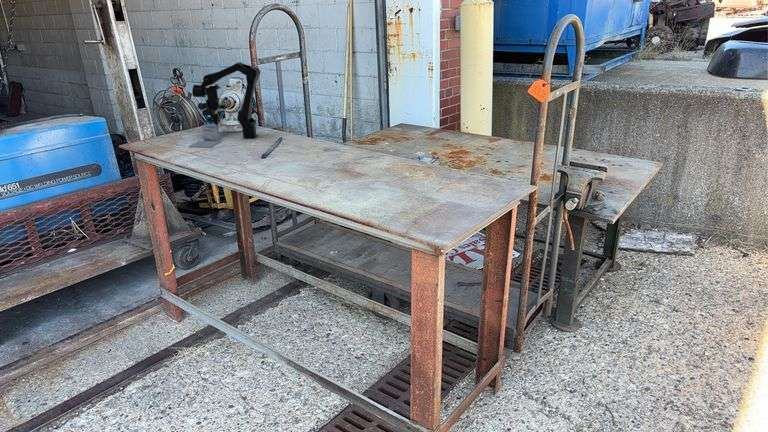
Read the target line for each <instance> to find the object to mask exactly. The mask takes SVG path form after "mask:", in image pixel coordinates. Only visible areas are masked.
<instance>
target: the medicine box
mask: <svg viewBox="0 0 768 432" xmlns="http://www.w3.org/2000/svg"><path fill="white" fill-rule="evenodd" d="M201 128H202V129H201V130H202V135H203V136H202V137H203V141H221V135H220V128H219V124H218V125H215V124H204V125H203V124H202V126H201Z"/></svg>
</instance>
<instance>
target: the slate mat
mask: <svg viewBox="0 0 768 432" xmlns="http://www.w3.org/2000/svg"><path fill="white" fill-rule="evenodd" d="M220 143H221V140H219V141H204V140H197V141H196V142H194V143H192V144H191V145H189V146H188V148H205V149H206V148H208V149H212V148H213V147H215V146H216V145H218V144H220Z"/></svg>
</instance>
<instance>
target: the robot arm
mask: <svg viewBox="0 0 768 432" xmlns="http://www.w3.org/2000/svg"><path fill="white" fill-rule="evenodd" d="M236 72H240V73H241V74H242V75H244V76H245V79H246V88H245V94H244V98H243V104H242V107H241V108H240V109H239V110H238V112H237V116H236V118H237V121H238V123H239V124H240V126H241V127H242V136H243V137H242V138H243V139H255V138H256V137H258V136H259V135H258V134H257V128H256V124H257V120H255V119H254V118H253V117H252V116H253V115H252V114H253V113H252V112H253V111H252V105H253V98H254V94H255V88H256V84H257V82H258V81H259V78H260V75H261V70H260V69H259V67H257V66H252V65H249V64H245V63H243V62H241V61H238V62H235V63H234V64H233V65H230V66H227V67H226V68H224V69H221V70H220V71H215V72H212V73H208V74H206V75H204V76H203V78H202V83H201V84H193V85H192V91H191V92H192V96H193V97H194V98H207V99H205V102H204V103H203V102H199V103H197V109H198V110H200V111H202V112H201V114H202V116H210V117H211V119H212V120H213V122H214V125H218V126H219V123H220V120H221V116H222V113H223V111H222V110H224V111H226V110H227V104H224V103H220V101H221V99H220V97H219V95H218V90H219V89H221V86H220V85H218V84H216V83H217V82H220V80H222V79H223V78H225V77H227V76H230V75H232V74H233V73H234V74H235V73H236Z"/></svg>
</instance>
